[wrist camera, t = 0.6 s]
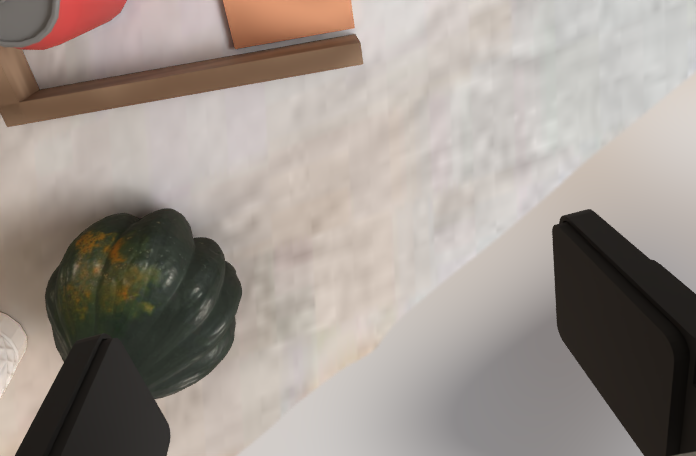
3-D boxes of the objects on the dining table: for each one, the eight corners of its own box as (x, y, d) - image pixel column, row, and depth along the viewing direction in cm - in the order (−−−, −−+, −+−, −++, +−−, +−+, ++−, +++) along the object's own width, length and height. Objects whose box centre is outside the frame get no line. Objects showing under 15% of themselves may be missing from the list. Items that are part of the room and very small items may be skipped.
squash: (256, 207, 40) (70, 323, 30) (284, 351, 48) (144, 481, 38) (143, 170, 48) (-34, 253, 38) (184, 300, 56) (45, 397, 46)
